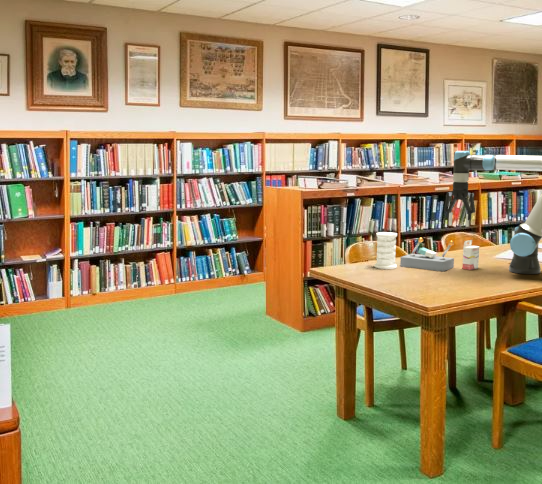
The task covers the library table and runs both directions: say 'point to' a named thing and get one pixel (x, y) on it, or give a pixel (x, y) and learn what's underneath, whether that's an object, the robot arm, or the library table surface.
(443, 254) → the lever near
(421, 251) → the rocker mid
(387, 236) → the decorative container
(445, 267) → the console
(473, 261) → the ink cartridge box
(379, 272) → the library table surface
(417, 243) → the lever far
